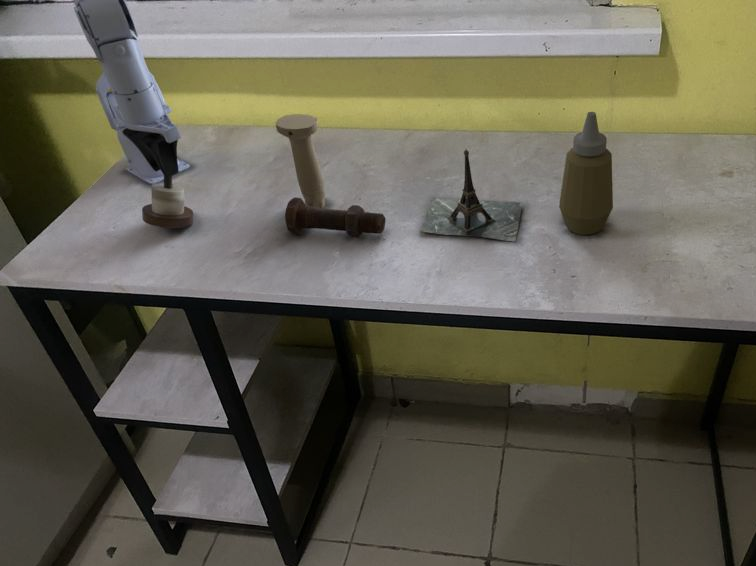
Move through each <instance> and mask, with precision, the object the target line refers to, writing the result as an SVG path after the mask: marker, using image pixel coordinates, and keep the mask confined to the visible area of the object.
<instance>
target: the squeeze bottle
mask: <svg viewBox="0 0 756 566" xmlns="http://www.w3.org/2000/svg"><path fill="white" fill-rule="evenodd" d="M607 139H608V138H607V136H606V135H605V134H604V133H601V132H600V130H599V125H598V118H597V113H596V112H595V111H588V112H587V113H586V117H585V120H584V124H583V128H582V131H581V132H579V133H576V134H575V135H574V136H573V139H572V140H573V143H572V144H573V145H572V147H571V148H570V149H569V150H568V151H567V152H566V153H565V154H566V156H565V161H564V169H563V176H562V183H561V189H560V196H559V205H558V207H559V210H560V213H561V216H562V218H563V222H564V224H565V226H566V228H567V230H569V231H570V232H572V233H574V234H578V235H588V236H589V235H594V234H596V233H598V232H601V231H602V229H603V228H604V227H605V225H606V223H607V221H608V219H609V217H610V215H611V214H612V210H613V208H614V199H613V197H614V196H613V193H614V191H613V155H612V154H613V153H612V152H611V151H610V150H609V148H607V143H608V142H607Z"/></svg>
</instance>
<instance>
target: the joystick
mask: <svg viewBox="0 0 756 566" xmlns="http://www.w3.org/2000/svg"><path fill="white" fill-rule="evenodd" d="M178 159H179V158H178V157H177V160H178ZM150 189H151V190H150V191H151V203H149V204H145V205H144V206H143V207H142V209H141V214H142V215H141V216H142V217H141V218H142V221H143V222H144V223H146V224H148V225H150V226H154V227H158V228H163V229H180V228H181V229H182V228H187V227H190V226H191V225H193V223H194V211H193V209H191V208H190V207H187V206H185V187H183V186H182V185H180V184H176V183H173V176H171V177H168V178H167V177H165V175H164V180H163V182H158V183H156V184H153V185H151V188H150Z"/></svg>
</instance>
